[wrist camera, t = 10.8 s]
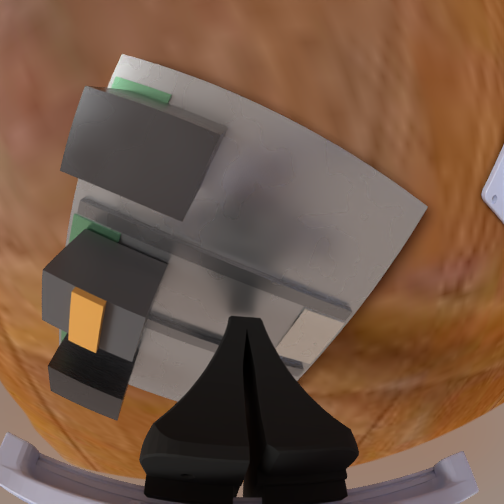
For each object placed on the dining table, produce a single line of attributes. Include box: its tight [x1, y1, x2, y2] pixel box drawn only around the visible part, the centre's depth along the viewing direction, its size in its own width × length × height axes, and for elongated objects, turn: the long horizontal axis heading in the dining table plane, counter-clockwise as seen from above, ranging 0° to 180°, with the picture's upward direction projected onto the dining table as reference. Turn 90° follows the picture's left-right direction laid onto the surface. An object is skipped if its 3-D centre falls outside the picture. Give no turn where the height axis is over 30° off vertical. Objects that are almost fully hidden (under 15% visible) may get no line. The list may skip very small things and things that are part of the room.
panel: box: [48, 54, 427, 420], centre depth 12 cm, size 14×17×5 cm
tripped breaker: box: [42, 229, 168, 362], centre depth 10 cm, size 4×2×4 cm, turn 64°
